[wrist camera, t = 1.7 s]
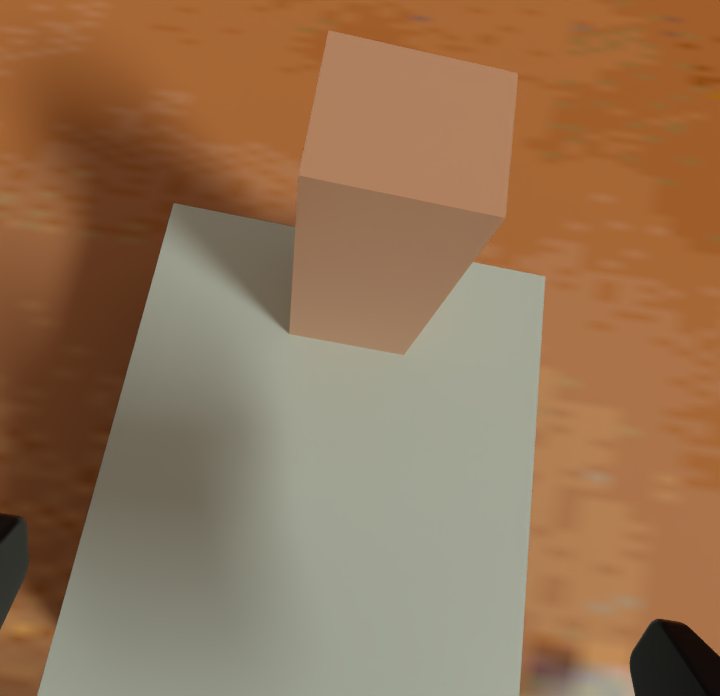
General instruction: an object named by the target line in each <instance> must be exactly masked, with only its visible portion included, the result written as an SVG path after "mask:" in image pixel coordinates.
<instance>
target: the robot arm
mask: <svg viewBox="0 0 720 696" xmlns="http://www.w3.org/2000/svg"><path fill="white" fill-rule="evenodd" d="M28 563H29V552H28V538H27V525H26V521H25V520H24V518H22V517H20V516H15V515H8V514H2V513H0V629H1V627H2V625H3V622H4V620H5V618H6V616H7V614H8V612H9V610H10V607H11V605H12V603H13V601H14V599H15V597H16V595H17V593H18V590H19V588H20V586H21V584H22V582H23V580H24V577H25V575H26V572H27V568H28ZM630 673H631V677H632V682H633V687H634V692H635V696H720V656H719V655H718V654H716V653H715V652H714V651H713V650H712V649H711V648H710V647H709V646H708V645H707V644H706V643H705V642H704V641H703V640H702V639H701V638H700V637H699V636H698V635H697V634H696V633H695V632H694V631H693V630H691V629H690V628H689V627H688V626H687V625H685V624H683V623H681V622H677V621H671V620H664V619H656V620H654V621H652V622H651V623H650V624H649V626H648V628H647V629H646V631H645V632H644V634H643V635H642V637H641V638H640V640H639V642H638V643H637V645H636V646H635V648H634V649H633V651H632V653H631V657H630Z"/></svg>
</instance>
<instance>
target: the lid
mask: <svg viewBox="0 0 720 696" xmlns="http://www.w3.org/2000/svg"><path fill="white" fill-rule="evenodd" d="M517 79H518V73H515V72H511V71H506V70H502V69H497V68H493V67H488V66H484V65H480V64H475V63H471V62H466V61H462V60H458V59H453V58H449V57H444V56H440V55H435V54H431V53H427V52H422V51H418V50H413V49H409V48H404V47H400V46H396V45H391V44H387V43H382V42H378V41H373V40H369V39H365V38H360V37H356V36H351V35H347V34H342V33H338V32H334V31H328V36H327V41H326V46H325V50H324V55H323V60H322V65H321V70H320V74H319V79H318V84H317V89H316V93H315V98H314V103H313V108H312V113H311V117H310V122H309V127H308V132H307V137H306V141H305V146H304V151H303V156H302V160H301V165H300V170H299V175H298V191H297V208H296V225H295V227H293V226H288V225H283V224H277V223H272V222H267V221H262V220H257V219H252V218H247V217H242V216H237V215H232V214H227V213H222V212H217V211H212V210H207V209H202V208H197V207H192V206H187V205H182V204H177V203H174V204H173V207H172V211H171V215H170V218H169V222H168V225H167V229H166V233H165V236H164V240H163V243H162V247H161V251H160V254H159V258H158V261H157V265H156V269H155V272H154V276H153V279H152V283H151V287H150V290H149V294H148V298H147V301H146V305H145V308H144V312H143V316H142V319H141V323H140V326H139V330H138V334H137V337H136V341H135V344H134V348H133V352H132V355H131V359H130V363H129V366H128V370H127V373H126V377H125V381H124V384H123V388H122V391H121V395H120V399H119V402H118V406H117V409H116V413H115V417H114V420H113V424H112V428H111V431H110V435H109V438H108V442H107V446H106V449H105V453H104V456H103V460H102V464H101V467H100V471H99V474H98V478H97V482H96V485H95V489H94V492H93V496H92V500H91V503H90V507H89V511H88V514H87V518H86V521H85V525H84V529H83V532H82V536H81V539H80V543H79V547H78V550H77V554H76V557H75V561H74V565H73V568H72V572H71V576H70V579H69V583H68V586H67V590H66V594H65V597H64V601H63V604H62V608H61V612H60V615H59V619H58V622H57V626H56V630H55V633H54V637H53V641H52V644H51V648H50V651H49V655H48V659H47V662H46V666H45V669H44V673H43V677H42V680H41V684H40V687H39V691H38V695H37V696H519V691H520V675H521V659H522V643H523V627H524V610H525V594H526V578H527V562H528V546H529V530H530V514H531V498H532V481H533V465H534V449H535V433H536V417H537V401H538V385H539V368H540V352H541V336H542V320H543V304H544V288H545V276H540V275H535V274H530V273H525V272H520V271H515V270H509V269H504V268H499V267H494V266H489V265H484V264H479V263H474V262H473V261H474V260H475V259H476V257H477V256H478V254H479V253H480V252H481V250H482V249H483V248H484V246H485V245H486V244H487V242H488V241H489V240H490V238H491V237H492V236H493V234H494V233H495V231H496V230H497V229H498V227H499V226H500V225H501V223H502V222H503V221H504V219H505V218H506V207H507V195H508V183H509V172H510V160H511V149H512V137H513V126H514V114H515V103H516V91H517Z"/></svg>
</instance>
